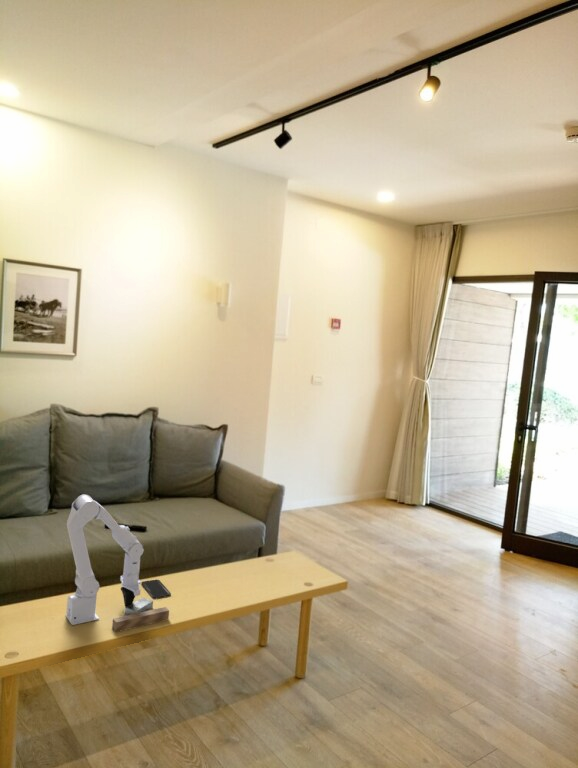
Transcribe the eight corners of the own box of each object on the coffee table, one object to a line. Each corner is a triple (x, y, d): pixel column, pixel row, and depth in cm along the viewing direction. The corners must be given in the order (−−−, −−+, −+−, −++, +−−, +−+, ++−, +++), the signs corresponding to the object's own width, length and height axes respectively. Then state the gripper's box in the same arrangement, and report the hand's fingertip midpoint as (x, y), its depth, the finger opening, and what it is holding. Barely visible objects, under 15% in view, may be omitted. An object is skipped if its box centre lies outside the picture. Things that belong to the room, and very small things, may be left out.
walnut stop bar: (115, 632, 192) (116, 622, 192) (112, 628, 194) (112, 618, 194) (168, 619, 204) (169, 610, 204) (164, 615, 207) (165, 606, 206)
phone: (158, 579, 236) (171, 594, 223) (158, 581, 236) (171, 596, 223) (140, 581, 231) (152, 597, 219) (140, 584, 231) (152, 600, 219)
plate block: (135, 619, 203) (136, 611, 203) (124, 615, 205) (125, 607, 205) (152, 608, 212) (153, 600, 212) (141, 604, 214) (142, 597, 214)
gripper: (149, 577, 205) (146, 612, 206) (133, 562, 216) (130, 596, 217) (131, 580, 200) (127, 616, 201) (116, 565, 212) (113, 600, 213)
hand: (128, 606), depth 209 cm, fingers closed
